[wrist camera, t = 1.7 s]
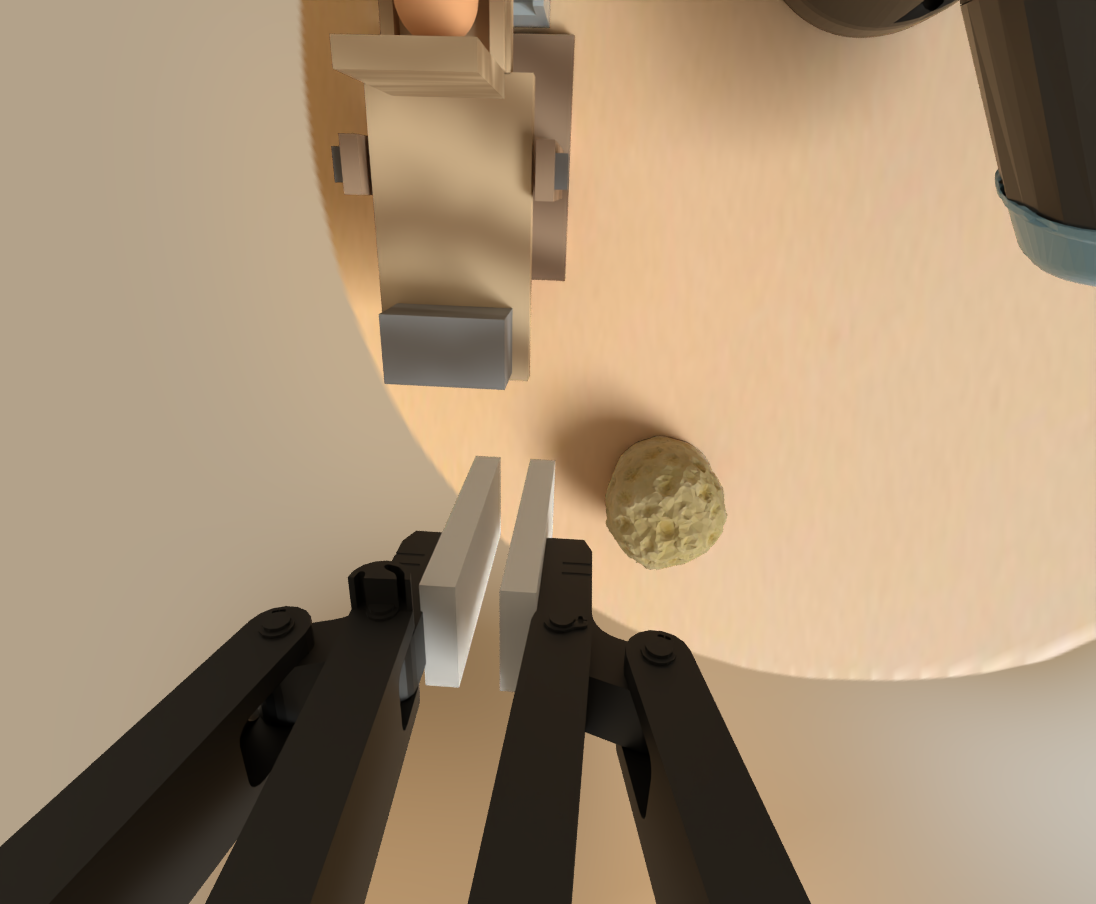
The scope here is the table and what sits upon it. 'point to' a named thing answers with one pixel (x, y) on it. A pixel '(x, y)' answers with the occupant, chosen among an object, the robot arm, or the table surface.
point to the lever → (449, 197)
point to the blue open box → (531, 13)
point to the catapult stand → (551, 148)
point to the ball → (437, 16)
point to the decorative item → (664, 503)
